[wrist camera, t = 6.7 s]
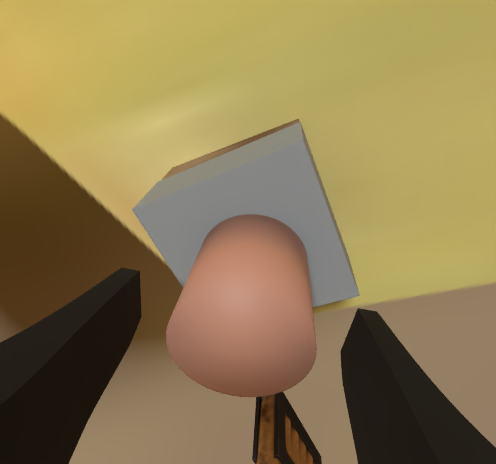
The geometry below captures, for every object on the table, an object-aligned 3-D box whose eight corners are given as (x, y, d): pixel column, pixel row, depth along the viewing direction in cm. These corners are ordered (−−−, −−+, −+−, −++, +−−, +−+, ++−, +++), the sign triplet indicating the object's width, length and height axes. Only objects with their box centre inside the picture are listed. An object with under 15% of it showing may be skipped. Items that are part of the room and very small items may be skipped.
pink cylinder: (286, 198, 12) (286, 271, 8) (321, 289, 14) (334, 384, 10) (182, 233, 13) (138, 310, 9) (226, 313, 15) (205, 406, 11)
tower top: (300, 121, 14) (303, 140, 11) (348, 255, 16) (359, 295, 14) (157, 181, 16) (132, 209, 13) (223, 292, 18) (212, 332, 16)
